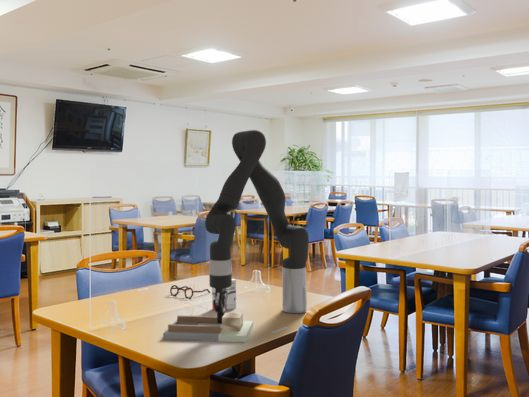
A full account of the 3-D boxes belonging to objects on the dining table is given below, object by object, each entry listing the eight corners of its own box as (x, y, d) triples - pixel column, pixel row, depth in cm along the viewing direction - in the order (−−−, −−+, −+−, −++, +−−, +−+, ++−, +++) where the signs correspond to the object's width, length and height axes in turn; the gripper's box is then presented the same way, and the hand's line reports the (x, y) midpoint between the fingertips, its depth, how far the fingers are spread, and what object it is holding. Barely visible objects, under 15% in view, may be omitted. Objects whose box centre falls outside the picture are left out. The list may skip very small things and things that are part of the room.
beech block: (243, 325, 176) (242, 312, 176) (239, 331, 170) (239, 317, 170) (225, 325, 177) (225, 312, 177) (222, 330, 171) (221, 317, 171)
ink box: (217, 311, 201) (217, 282, 200) (211, 308, 205) (211, 279, 204) (236, 308, 205) (236, 279, 204) (230, 305, 209) (230, 277, 209)
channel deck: (253, 326, 181) (253, 315, 181) (245, 342, 165) (245, 329, 165) (177, 324, 185) (177, 313, 185) (163, 339, 169) (162, 327, 169)
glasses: (169, 296, 228) (169, 285, 227) (189, 290, 239) (189, 279, 238) (192, 300, 220) (191, 288, 220) (211, 293, 231) (211, 282, 231)
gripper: (227, 276, 166) (228, 329, 167) (235, 268, 179) (235, 317, 180) (204, 276, 167) (205, 328, 168) (214, 268, 180) (214, 317, 181)
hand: (221, 322), depth 174 cm, fingers closed
